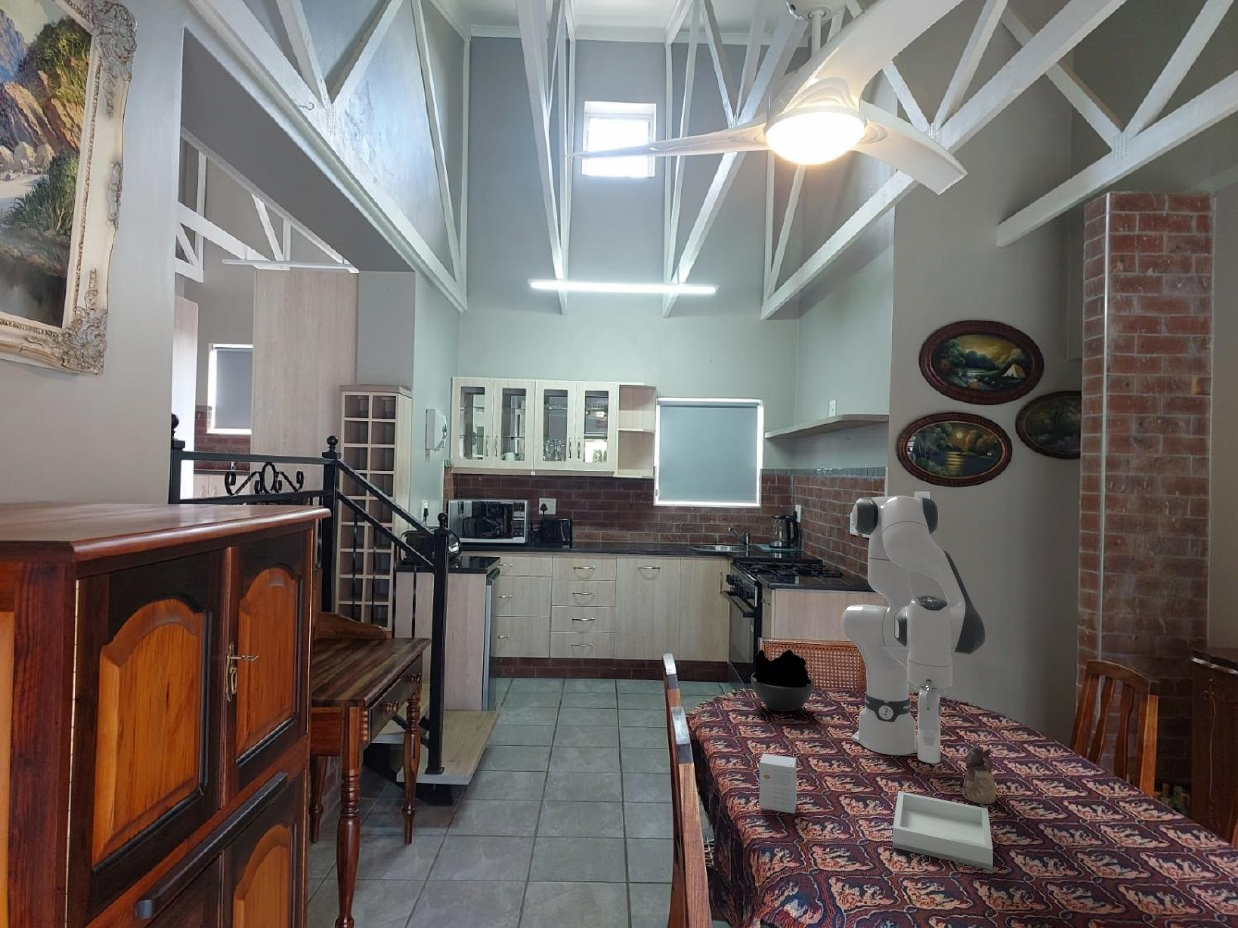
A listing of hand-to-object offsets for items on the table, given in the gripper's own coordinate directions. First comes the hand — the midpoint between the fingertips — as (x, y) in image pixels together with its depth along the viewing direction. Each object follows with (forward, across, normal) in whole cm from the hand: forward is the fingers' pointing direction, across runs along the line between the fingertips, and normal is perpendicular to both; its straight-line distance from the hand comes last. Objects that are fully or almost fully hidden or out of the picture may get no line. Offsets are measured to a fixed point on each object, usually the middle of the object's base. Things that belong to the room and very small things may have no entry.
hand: (929, 739), depth 145 cm
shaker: (+4, 0, 0) cm, 4 cm away
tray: (+20, 0, -2) cm, 20 cm away
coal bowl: (+20, +63, +45) cm, 80 cm away
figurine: (+20, +24, -10) cm, 33 cm away
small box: (+20, -2, +32) cm, 38 cm away
